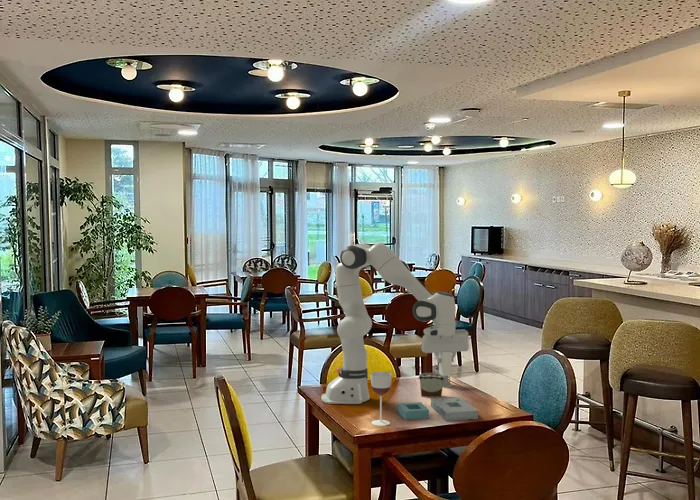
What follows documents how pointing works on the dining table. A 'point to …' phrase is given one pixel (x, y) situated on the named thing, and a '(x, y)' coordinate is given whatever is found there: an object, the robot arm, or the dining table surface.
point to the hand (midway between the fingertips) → (445, 362)
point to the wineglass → (381, 391)
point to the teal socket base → (413, 410)
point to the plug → (445, 363)
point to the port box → (454, 409)
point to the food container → (431, 384)
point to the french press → (446, 382)
